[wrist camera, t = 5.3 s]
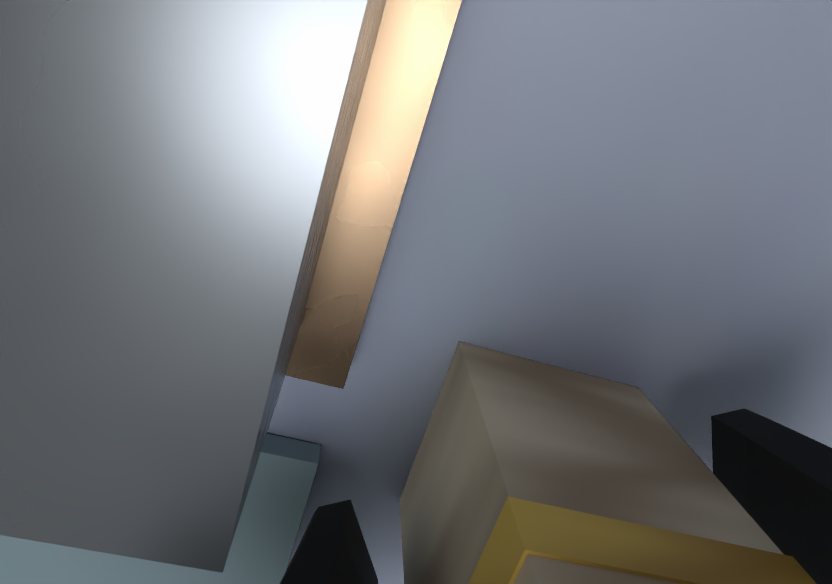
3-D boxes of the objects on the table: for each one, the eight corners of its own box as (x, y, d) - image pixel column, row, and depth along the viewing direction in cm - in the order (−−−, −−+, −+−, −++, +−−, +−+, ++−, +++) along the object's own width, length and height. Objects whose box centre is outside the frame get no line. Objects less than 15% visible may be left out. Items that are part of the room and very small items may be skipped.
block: (641, 386, 11) (902, 679, 6) (565, 535, 13) (716, 891, 7) (457, 337, 11) (547, 617, 5) (396, 500, 12) (414, 865, 6)
